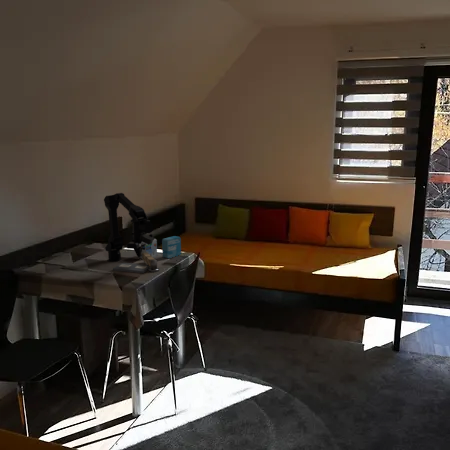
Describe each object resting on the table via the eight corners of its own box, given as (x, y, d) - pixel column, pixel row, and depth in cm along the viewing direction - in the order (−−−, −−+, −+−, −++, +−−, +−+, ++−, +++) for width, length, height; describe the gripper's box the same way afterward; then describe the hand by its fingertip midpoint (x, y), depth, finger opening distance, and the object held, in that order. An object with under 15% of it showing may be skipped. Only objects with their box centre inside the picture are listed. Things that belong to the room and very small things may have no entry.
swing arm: (157, 268, 270) (157, 260, 269) (151, 269, 269) (151, 261, 268) (147, 259, 289) (147, 251, 288) (141, 260, 287) (141, 252, 286)
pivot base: (146, 271, 269) (146, 269, 269) (151, 268, 275) (151, 267, 275) (156, 272, 268) (156, 270, 267) (161, 269, 273) (161, 267, 273)
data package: (167, 259, 295) (167, 239, 293) (162, 257, 298) (161, 238, 295) (181, 255, 304) (180, 236, 302) (176, 253, 307) (175, 235, 305)
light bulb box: (146, 259, 294) (145, 242, 292) (138, 258, 297) (137, 241, 295) (157, 255, 303) (157, 238, 301) (149, 254, 306) (148, 237, 304)
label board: (112, 270, 272) (112, 267, 272) (123, 264, 283) (122, 262, 283) (143, 273, 267) (143, 270, 266) (152, 267, 278) (152, 264, 278)
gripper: (144, 234, 260) (145, 262, 263) (158, 227, 278) (159, 254, 281) (125, 233, 263) (126, 261, 267) (140, 226, 281) (141, 252, 284)
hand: (139, 257), depth 274 cm, fingers closed
